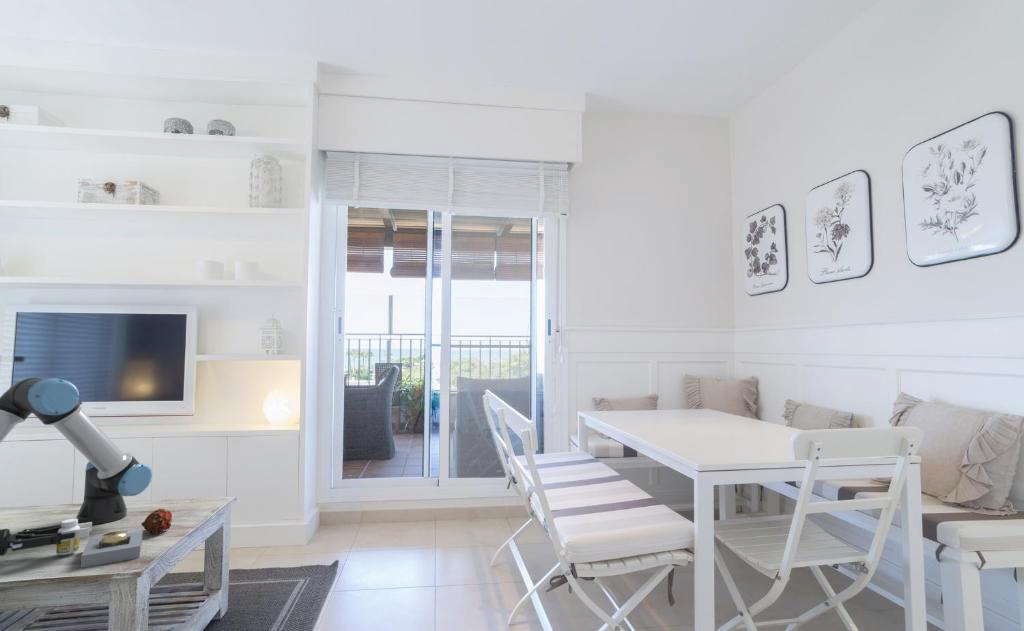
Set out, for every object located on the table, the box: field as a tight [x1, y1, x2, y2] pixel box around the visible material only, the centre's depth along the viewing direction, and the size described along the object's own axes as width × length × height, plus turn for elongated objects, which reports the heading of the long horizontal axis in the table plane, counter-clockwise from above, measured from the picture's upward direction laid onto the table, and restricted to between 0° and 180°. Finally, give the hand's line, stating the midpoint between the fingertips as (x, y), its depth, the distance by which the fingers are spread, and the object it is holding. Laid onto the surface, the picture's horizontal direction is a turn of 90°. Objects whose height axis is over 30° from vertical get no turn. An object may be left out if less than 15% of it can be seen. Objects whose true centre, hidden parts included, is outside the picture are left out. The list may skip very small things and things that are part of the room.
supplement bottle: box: [55, 518, 80, 556], centre depth 158 cm, size 5×5×10 cm
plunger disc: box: [101, 530, 128, 546], centre depth 159 cm, size 6×6×2 cm
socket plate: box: [80, 530, 144, 569], centre depth 159 cm, size 16×14×4 cm
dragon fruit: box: [141, 508, 173, 534], centre depth 179 cm, size 8×8×12 cm
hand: (90, 529), depth 161 cm, fingers closed on supplement bottle, 5 cm apart
